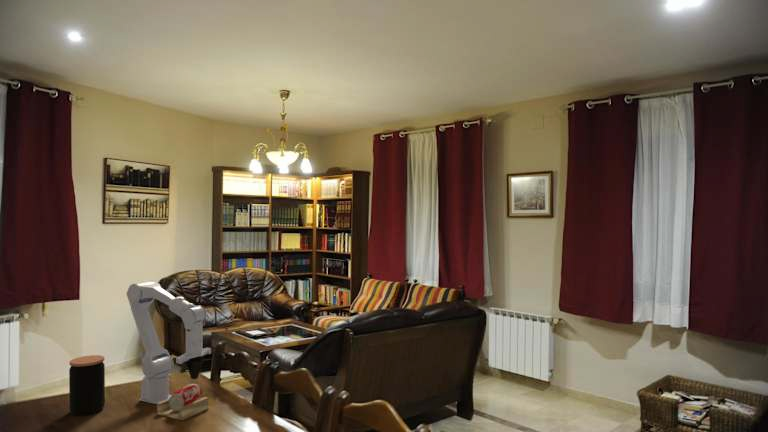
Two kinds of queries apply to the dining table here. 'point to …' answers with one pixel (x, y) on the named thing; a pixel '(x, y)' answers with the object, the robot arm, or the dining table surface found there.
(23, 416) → the dining table surface
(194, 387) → the soda can
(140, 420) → the dining table surface
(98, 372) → the coffee jar
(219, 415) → the dining table surface
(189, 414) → the cradle
